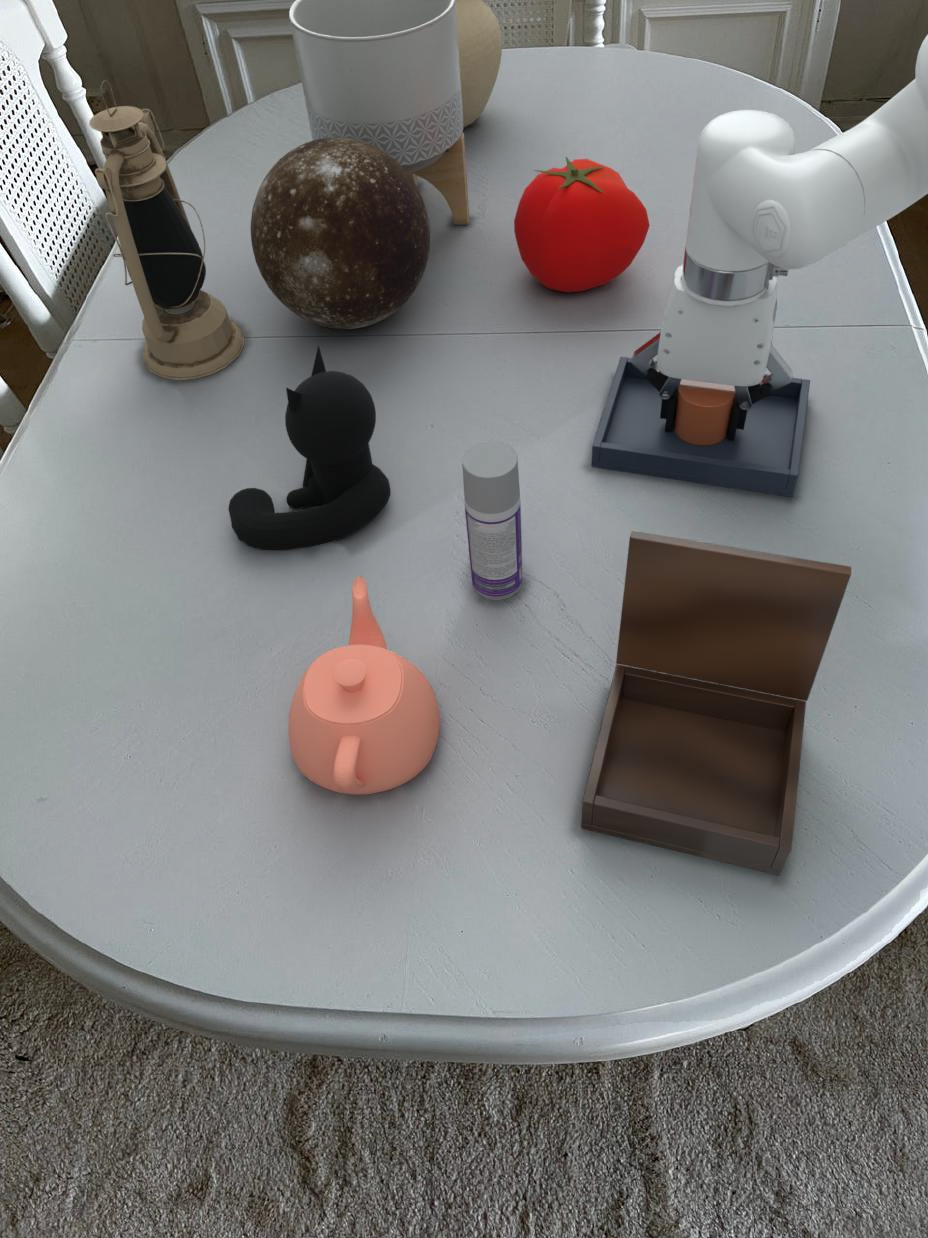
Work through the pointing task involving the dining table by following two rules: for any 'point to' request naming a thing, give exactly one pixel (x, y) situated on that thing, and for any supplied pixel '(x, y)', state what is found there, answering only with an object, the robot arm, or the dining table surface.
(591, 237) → the tomato
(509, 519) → the container
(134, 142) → the lantern
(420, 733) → the teapot
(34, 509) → the dining table surface
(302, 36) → the planter
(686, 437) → the orange cylinder puck
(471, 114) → the vase
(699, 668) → the lid
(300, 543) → the figurine
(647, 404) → the tray
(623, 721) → the brown wooden shallow box
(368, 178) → the decorative sphere
